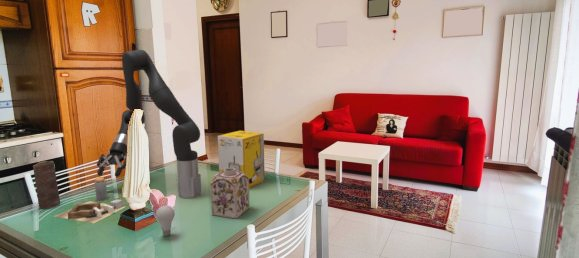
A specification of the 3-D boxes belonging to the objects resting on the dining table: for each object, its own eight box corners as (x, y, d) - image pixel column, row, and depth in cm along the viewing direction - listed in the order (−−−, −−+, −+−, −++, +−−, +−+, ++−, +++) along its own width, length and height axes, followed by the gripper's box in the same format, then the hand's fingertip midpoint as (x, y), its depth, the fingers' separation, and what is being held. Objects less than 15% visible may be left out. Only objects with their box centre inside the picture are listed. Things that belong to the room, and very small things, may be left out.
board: (126, 208, 142) (126, 206, 142) (94, 225, 127) (93, 223, 127) (89, 203, 148) (89, 201, 148) (54, 218, 133) (53, 216, 133)
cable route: (126, 206, 142) (126, 200, 141) (99, 220, 129) (98, 214, 128) (112, 204, 144) (112, 198, 143) (84, 218, 131) (84, 211, 130)
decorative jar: (250, 207, 142) (249, 166, 139) (237, 219, 131) (235, 174, 128) (225, 204, 146) (223, 163, 143) (210, 215, 135) (208, 171, 132)
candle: (49, 212, 139) (42, 165, 135) (34, 210, 140) (27, 164, 137) (64, 204, 146) (59, 160, 143) (50, 203, 148) (44, 159, 144)
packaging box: (264, 180, 176) (263, 133, 172) (244, 190, 163) (242, 139, 158) (240, 175, 185) (239, 130, 180) (219, 184, 171) (217, 135, 167)
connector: (110, 199, 152) (107, 177, 150) (102, 203, 148) (99, 180, 146) (102, 198, 153) (100, 176, 151) (94, 202, 149) (91, 179, 147)
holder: (100, 207, 141) (100, 202, 140) (93, 216, 132) (92, 211, 132) (77, 209, 139) (76, 204, 138) (68, 218, 130) (67, 213, 130)
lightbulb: (160, 231, 122) (158, 202, 120) (177, 231, 122) (175, 202, 120) (155, 240, 116) (152, 210, 114) (173, 239, 116) (171, 209, 114)
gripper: (103, 140, 161) (88, 171, 152) (131, 141, 159) (118, 172, 150) (111, 149, 167) (98, 178, 158) (138, 149, 165) (126, 180, 156)
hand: (107, 175), depth 154 cm, fingers open, 8 cm apart
